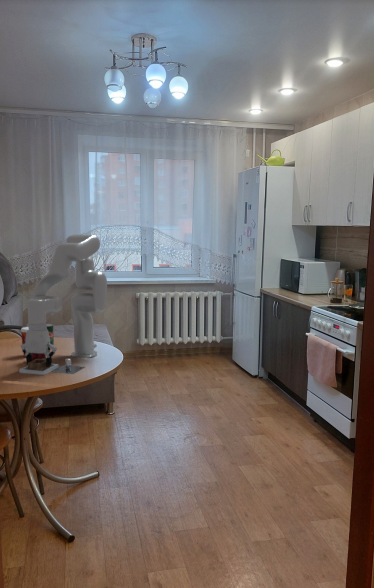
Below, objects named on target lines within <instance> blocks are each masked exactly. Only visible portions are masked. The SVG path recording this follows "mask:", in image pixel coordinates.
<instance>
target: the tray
mask: <svg viewBox="0 0 374 588" xmlns="http://www.w3.org/2000/svg"><path fill="white" fill-rule="evenodd" d="M59 367H60V366H59V363H52V364H51V366H50V368H48V369H46V370H44V371H38V370H28V365H25V366H23V367H22V368H20V369H19V370H18V372H19V374H29V375H30V374H31V375H43V376H45V375H46V374H48V373H51V371H53V370H55V369H57V368H59Z"/></svg>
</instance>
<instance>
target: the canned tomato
mask: <svg viewBox="0 0 374 588" xmlns="http://www.w3.org/2000/svg"><path fill="white" fill-rule="evenodd" d="M47 330H48V332H49V336H50V344H52V345H53V346H55V345H54V344H55V341H54V340H55V339H54V323H47Z"/></svg>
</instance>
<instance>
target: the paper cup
mask: <svg viewBox="0 0 374 588" xmlns="http://www.w3.org/2000/svg"><path fill="white" fill-rule="evenodd" d="M27 330H29V329H28V327H27V326H25V327H24V326H23V327H21V329H20V333H21V343H22V344H21V345H23V344H25V341H26V333H27ZM23 357H25V358H26V356H25V354H24V353H23Z"/></svg>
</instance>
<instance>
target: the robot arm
mask: <svg viewBox="0 0 374 588" xmlns="http://www.w3.org/2000/svg"><path fill="white" fill-rule="evenodd" d="M100 247H101V240H100V239H99V237H98V236H97V235H95V234H72V235H69V236H67V238H66V242H62V243H59V244H58V245H57V246H56V248H55V250H54V255H53V257H52V260H51V263H50V267H49V269H48V272H47V273H46V274H45V275H44V276H43V277H42V278H41V279H40V280H39V282H38V283H37V284H36V285H35V287H34V289H33V292H32V295H31V298H29V299H28V301H27V321H28V322H27V323H26V325H25V327H28V329H29V330H27V333H26V341H25V344H23V345H22V344H21V345H20V349H21V350H22V354H23V355H24V354H25V356H26V357H25V359H26V366H28V362H31V361H32V355H31V353H37V354H45V355H46V366H47V367H49V366H51V364H53V363H52V362H53V360H52V359H53V358H52V357H53V355H55V354H56V351H57V349H58V347H57V346H55V345H52V344H50V336H49V332H48V330H47V324H48V323H47V314H57V313H59V312H60V311H61V310H62V308H63V300H62V299H61V298H60V297H58V296H53V295H46V294H47V292H48V291H50V290H49V289H51V288H52V287H54V286H55V285H57V284H59V283H61V282H63V281H66V280H67V278H68V276H69V272H70V269H71V265H72V263H73V262H75V277H74V278H75V282H74V283H75V286H76V288H77V289H78V290H83V291H85V290H86V291H92V293H91V292H81V291H80V292H77V293H75V294H73V295H72V297H71V300H70V304H71V309H72V310H71V311H72V314H73V336H74V338H73V340H74V341H73V342H74V343H73V344H74V346H73V347H74V351H73V352H72V353H71V357H73V358H85V359H89V358H93V357H96V356H97V355H98V352H97V351H96V350H95V349H96V348H97V347H98V345H97V343H95V341H94V340H95V338H94V335H95V333H94V329H95V328H94V318H93V315H92V314H93V313H94V314H100V313H103V312H104V311H105V308H106V306H107V293H108V279H107V276H106V275H105V273H104V272H103V271H99V270H94V264H95V262H94V258H93V255H95V254H96V253H97V252H98V251H99V249H100ZM91 313H92V314H91Z"/></svg>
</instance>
